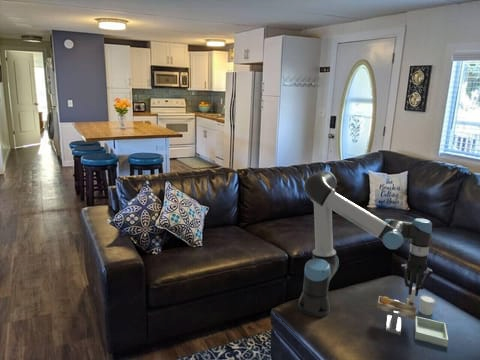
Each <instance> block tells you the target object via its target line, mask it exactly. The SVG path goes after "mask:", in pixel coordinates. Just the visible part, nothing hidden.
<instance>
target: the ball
mask: <svg viewBox="0 0 480 360" xmlns="http://www.w3.org/2000/svg"><path fill="white" fill-rule="evenodd" d="M389 299H390V298H389V297H388V296H382V298H381V303H384V304H387V305H389V303H390V300H389Z"/></svg>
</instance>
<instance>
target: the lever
mask: <svg viewBox="0 0 480 360" xmlns="http://www.w3.org/2000/svg"><path fill="white" fill-rule="evenodd" d="M382 297H383V296H381V295H379V296H378V298H377V302H376V304H377V305H376V309H378V310H380V311H381V310H382V311H384V312H388V313H394V311H397V312H399V315H398V316H399V317H400V316H401V317H404V318H407V319H409V320H414V321H415V319H416V316H418V314H417V312H416V311H417V310H416V309H417V306H415V302H414V303H411V302H410V298H411V297H406V298H405V302H401V301H399V300H398V301H399V302H398V301H395V300H396V299H391V298H389V300H390V303H389V305H387V304H384V303H381V298H382Z"/></svg>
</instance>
